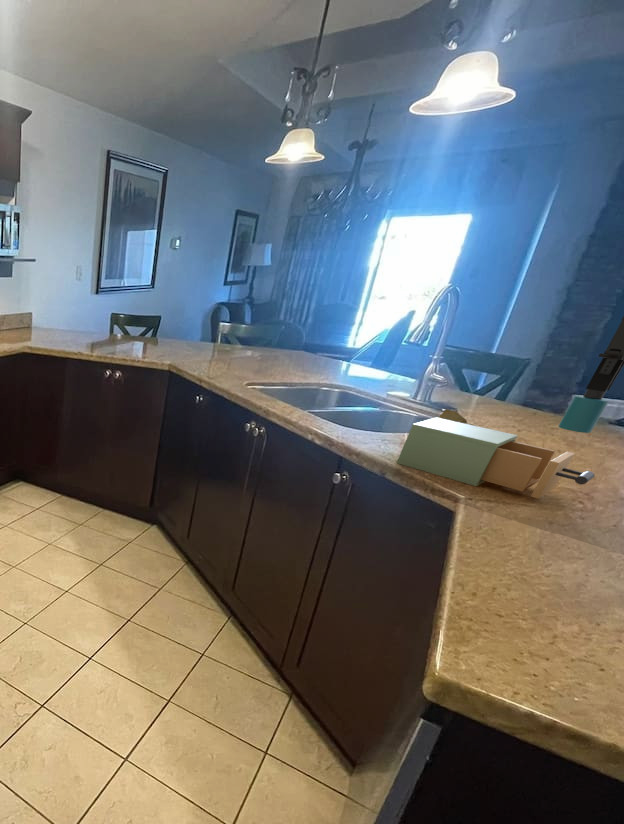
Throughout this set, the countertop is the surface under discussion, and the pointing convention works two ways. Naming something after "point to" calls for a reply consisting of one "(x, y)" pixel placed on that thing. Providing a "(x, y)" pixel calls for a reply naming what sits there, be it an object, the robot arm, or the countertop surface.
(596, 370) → the robot arm
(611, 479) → the countertop surface
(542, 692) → the countertop surface
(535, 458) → the drawer
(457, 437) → the cabinet
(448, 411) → the rock
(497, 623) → the countertop surface
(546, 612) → the countertop surface
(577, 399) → the dark grey teal stick
